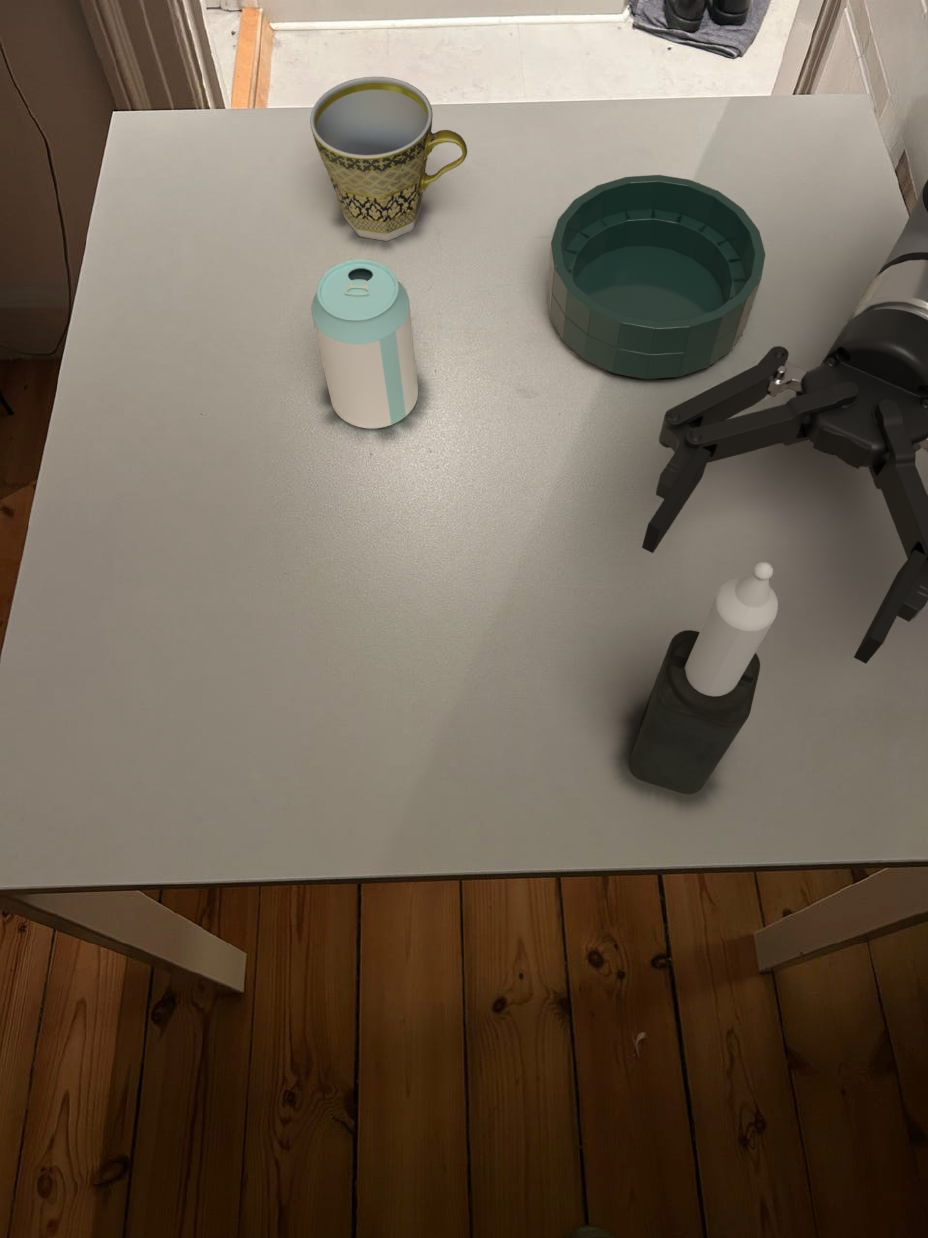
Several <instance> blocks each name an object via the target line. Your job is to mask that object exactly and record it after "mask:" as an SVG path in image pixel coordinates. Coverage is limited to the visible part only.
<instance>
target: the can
mask: <svg viewBox="0 0 928 1238" xmlns="http://www.w3.org/2000/svg"><path fill="white" fill-rule="evenodd" d="M311 317H312V322H313V326H314V329H315V336H316V340H317V344H318V349H319V353H320V358H321V362H322V366H323V371H324V376H325V380H326V384H327V390H328V393H329V398H330V402H331V405H332V409H333V410H334V412H335V413H336V414H337V415H338V417H340V418H341V420H343V421H345V422H346V423H348V424H349V425H352V426H355V427H358V428H363V429H380V428H386V427H389V426H392V425H394V424H397V423H398V422H400V421H402V420H403V419H405V418H406V417H407V416H408V415H409V414H410V413H411V412H412V411H413V409H414V408H415V405H416V403H417V401H418V397H419V385H418V375H417V364H416V355H415V354H416V353H415V345H414V344H415V343H414V334H413V324H412V315H411V303H410V297H409V294H408V292H407V290H406V288H405V287H404V286H403V284H402V283H401V282H400V281H399V280H398V278H397V276H396V274H395V273H394V271H393V270H392V269H391V268H389V267H388V266H387V265H385V264H383V263H381V262H379V261H375V260H371V259H365V258H355V259H349V260H345V261H342V262H339V263H337V264H335V265H334V266H332V267H330V268H329V269H328V270H326V272H325V273H323V275H322V276H321V278H320V279H319V280H318V283H317V287H316V292H315V294H314V296H313V298H312V303H311Z"/></svg>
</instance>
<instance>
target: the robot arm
mask: <svg viewBox="0 0 928 1238" xmlns="http://www.w3.org/2000/svg"><path fill="white" fill-rule="evenodd" d="M863 293H864V294H863V295H862V296H861V299H860V300H859V301H858V303H857V305H856V306H855V308H854V309H853V312H852V313H851V315H850V316H849V318H848V320H847V321H846V324H844V326H843V327H842V328H841V330H840V332H839V334H838V335H837V337H836V339H835V340H834V342H833V343H832V345H831V347H830V348H829V350H828V351H827V353H826V355H825V356H824V358H823V360H822V361H821V363H820V364H819V365H817V366H816V367H814V368H813V369H810V370H809V371H806V370H804V369H802V368H800V367H799V366H797V365H795V364H794V363H792V362H790V361H788V358H789V356H790V352H789V351H788V349H787V348H786V347H784V346H782V345H777V346H776V345H775V346H773V347H771V348H770V350H769V351H768V352H767V353H766V354H765V355H764V356H763V357H762V358H761V360H760V361H759V362H758V363H757V364H756V365H754V366H751V367H749V368H748V369H746V370H744V371H742V372H740V373H738V374H736V375H734V376H732V377H730V378H728V379H726V380H725V381H722V382H721V383H718V384H717V385H715V386H713V387H711V388H709V389H707V390H705V391H703V392H701V393H699V394H696V395H694V396H692V397H691V398H689V399H687V400H684V401H683V402H681V403H679V404H677V405H675V406H674V407H671V408H670V409H668V410H667V411H666V412H665V413H664V416H663V420H662V425H661V429H660V432H659V436H658V443H659V444H660V445H661V446H662V447H663V448H667V449H671V450H672V451H673V452H674V453H673V455H672V456H671V457H670V460H669V461H667V462H668V463H666V465H665V467H664V468H663V469H662V471H661V473H660V475H659V477H658V482H657V485H656V490H655V495H656V496H657V497H659V498H661V499H663V500H662V502H661V503H660V505H659V507H658V508H657V509H656V511H655V512H654V514H653V516H652V517H651V519H650V521H649V522H648V523H647V526H646V531H645V535H644V538H643V542H642V545H641V548H642V549H643V550H645V551H647V552H649V553H652V554H654V553H655V551H656V549H657V548H658V547H659V545H660V543H661V542H662V540H663V538H664V537H665V535H666V534H667V532H668V531H669V530H670V528H671V526H672V525H673V523H674V522H675V520H676V519H677V517H678V516H679V514H680V512H681V511H682V509H683V508H684V506H685V505H686V503H687V502H688V500H689V498H690V497H691V496H692V494H693V493H694V491H695V490H696V488H697V486H698V485H699V483H700V482H701V480H702V479H703V475H704V473H705V470H706V467H707V464H710V463H713V462H718V461H720V460H724V459H728V458H731V457H735V456H739V455H742V454H747V453H750V452H754V451H758V450H762V449H765V448H768V447H769V448H770V447H773V446H776V445H780V444H782V445H783V446H785V447H787V446H792V445H796V444H800V443H804V442H807V441H809V442H810V443H811V444H812V447H811V449H813V450H815V451H818V452H820V453H822V454H826V455H830V456H833V457H836V458H838V459H839V460H840V461H842V462H843V463H844V464H846V465H848V466H849V467H852V468H854V469H857V470H859V469H860V467H861V468H862V467H863V468H868V470H869V473H870V477H871V479H872V481H873V484H874V487H875V488H876V489H877V490H880V491H881V493H882V496H883V498H884V501H885V504H886V506H887V509H888V511H889V514H890V516H891V519H892V522H893V524H894V527H895V529H896V532H897V535H898V538H899V540H900V543H901V545H902V548H903V551H904V553H905V556H906V558H907V559H906V561H905V562H904V563H903V565H902V566H901V568H900V569H899V570H898V572H897V573H896V575H895V577H894V579H893V581H892V582H891V584H890V587H889V588H888V591H887V592H886V594H885V596H884V598H883V600H882V601H881V604H880V605H879V607H878V609H877V612H876V613H875V615H874V617H873V619H872V621H871V623H870V625H869V626H868V629H867V631H866V632H865V635H864V636H863V638H862V640H861V642H860V644H859V646H858V648H857V650H856V652H855V654H854V655H853V658H854V659H855V660H858V661H860V662H862V663H864V664H867V663H868V662H869V661H870V660H871V658H873V656H874V655H875V654H876V653H877V652H878V650H879V649H880V648H881V647H882V645H883V644H884V643H885V640H886V639H887V636H888V634H889V632H890V631H891V628H892V627H893V624H894V623H895V621H896V619H897V617H898V618H900V619H902V620H903V621H907V622H908V623H910V622H911V621H912V620H913V619H915V618H916V617H917V616H918V615H919V614H920V613H921V611H922V610H923V609H924V608H925V607H926V605H927V603H928V493H927V491H926V488H925V485H924V483H923V481H922V478H921V476H920V473H919V471H918V469H917V466H916V457H917V455H916V453H917V452H918V451H920V450H921V449H922V450H924V451H926V452H927V453H928V179H926V181H925V183H924V184H923V187H922V190H921V191H920V193H919V195H918V198H917V199H916V202H915V204H914V206H913V208H912V210H911V213H910V215H909V217H908V219H907V221H906V224H905V225H904V228H903V229H902V232H901V233H900V235H899V237H898V239H897V240H896V242H895V244H894V245H893V248H892V249H891V251H890V252H889V254H888V256H887V258H886V259H885V261H884V263H883V265H882V267H881V269H880V270H879V271H878V273H877V274H876V275H875V277H874V278H873V279H872V281H871V282H870V284H869V285H868V286H867V288H866V290H865V292H863ZM787 390H790V391H791V390H792V391H795V396H794V397H791V398H790V399H789V400H788V401H786V402H785V403H784V404H780V405H777V406H773V407H769V408H764V409H762V410H757V411H753V412H750V413H747V414H743V415H738V416H736V415H737V414H740V413H742V412H743V411H746V410H747V409H750V408H751V407H753V406H755V405H757V404H758V403H760V402H761V401H762V400H764V399H765V398H766V397H767V396H769V397H771V398H774V397H776V396H777V395H778V394H780V393H782V392H784V391H787ZM734 416H735V417H734Z"/></svg>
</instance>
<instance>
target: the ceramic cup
mask: <svg viewBox="0 0 928 1238" xmlns="http://www.w3.org/2000/svg"><path fill="white" fill-rule="evenodd" d="M433 116H434V115H433V108H432V105H431V102H430V101H429V99H428V97H427V96H426V95H425V94H424V93H423V92H422V90H420V89H419V88H417V87H416V86H414V85H412V83H411V84H410V83H409V82H406V81H404V80H400V79H397V78H393V77H388V76H387V77H386V76H364V77H358V78H353V79H349V80H346V81H343V82H342V83H339V84H337V85H336V86H334V87H331V88H330V89H328V90H327V91H326V92H324V93H323V94H322V95H321V97H319V98H318V100H317V101H316V102H315V104H314V105H313V108H312V109H311V113H310V119H309V124H310V129H311V133H312V137H313V139H314V144H315V146H316V148H317V150H318V153H319V156H320V159H321V161H322V163H323V165H324V167H325V169H326V171H327V174H328V177H329V180H330V182H331V185H332V188H333V190H334V193H335V195H336V198H337V200H338V204H339V207H340V209H341V211H342V215H343V217H344V219H345V221H347V223H348V224H349V225H350V227H351V228H352V229H353V230H354V232H355V233H356V235H358V237H361V238H365V239H373V240H379V241H386V242H389V241H391V240H394V239H395V238H398V237H400V236H403V235H404V234H408V233H410V232H412V231H413V230H414V229H415V227H416V224H417V221H418V218H419V216H420V213H421V210H422V208H421V207H422V200H423V192H425V191H426V190H427V188H428V186H430V185H431V184H432V183H433V182H435V181H437V180H438V179H439V178H441V177H442V176H443V175H444V174H445V173H447V172H449V171H451V170H453V169H455V168H457V167H459V166H460V165H462V164H463V163H464V161H465V160H466V158H467V157H468V147H467V144H466V141H465V140H464V138H463V137H462V136H461V134H459V133H457V132H456V131H453V130H450V129H442V130H441V129H440V130H437V131H436V132H432V128H433ZM446 143H448V144H449V143H451V144H455V145H456V146H458V147H459V148H460V150H461V153H462V154H461V156H460V157H459V158H457V159H456V160H454V161H452V162H450V163H447V164H445V166H443V167H441V168H440V169H439V170H438V171H437V172H436V173H434V174H431V175H429V174H427V172H426V169H427V162H428V156H429V155H430V154H431V153H432V151H433V150H434V148H435V147H436V146H438V145H440V144H446Z"/></svg>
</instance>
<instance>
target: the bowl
mask: <svg viewBox="0 0 928 1238" xmlns="http://www.w3.org/2000/svg"><path fill="white" fill-rule="evenodd" d="M765 259H766V250H765V247H764V244H763V240H762V235H761V232H760V229H759V228H758V227H757V226H756V224H755V223H754V221H753V220H752V219H751V217H750V216H749V215H748V213H747V212H746V211H745V209H744V208H743V207H741V206H740V205H739V204H737V203H736V202H734V201H733V200H732V199H730V198H729V197H728V196H726V195H725V194H724V193H722V192H721V191H719V190H717V189H714V188H712V187H710V186H707V185H706V184H702V183H700V182H697V181H694V180H692V179H689V178H681V177H675V176H669V175H664V174H650V175H647V174H646V175H634V176H633V175H632V176H624V177H622V178H618V179H615V180H614V179H613V180H610V181H608V182H604V183H601V184H598V185H595V186H594V187H593V188H591V189H589V190H588V191H586V192H585V193H583V194H581V195H580V196H577V197H576V198H575V199H573V201H572V202H571V203H570V204H569V206H567V208H566V209H565V210H564V212H563V213H562V214H561V215H560V216H559V218H558V219H557V221H556V224H555V227H554V231H553V234H552V237H551V241H550V250H549V263H548V265H549V266H548V278H547V291H546V296H547V305H548V313H549V318H550V321H551V322H552V324H553V326H554V328H555V330H556V331H557V333H558V335H559V336H560V339H561V340H562V341H563V343H565V344H566V345H567V346H568V347H569V348H570V349H571V350H573V351H574V352H575V353H576V354H577V355H578V356H579V357H581V358H582V359H583V360H584V361H586V362H588V363H590V364H593V365H595V366H597V367H598V368H601V369H603V370H606V371H608V372H610V373H612V374H615V375H621V376H627V377H632V378H637V379H642V380H653V379H668V378H669V379H670V378H678V377H682V376H685V375H689V374H692V373H695V372H698V371H701V370H704V369H706V368H709V367H710V366H711V365H713V364H714V363H716V362H717V361H719V360H720V359H721V358H722V357H724V356H725V355H727V354H728V353H730V352H731V351H732V349H733V348H734V347H735V345H736V343H737V342H738V341H739V339H740V337H741V336H742V335H743V333H744V332H745V330H746V326H747V324H748V320H749V317H750V315H751V311H752V308H753V304H754V302H755V299H756V296H757V293H758V289H759V286H760V285H761V280H762V276H763V270H764V266H765Z"/></svg>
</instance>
